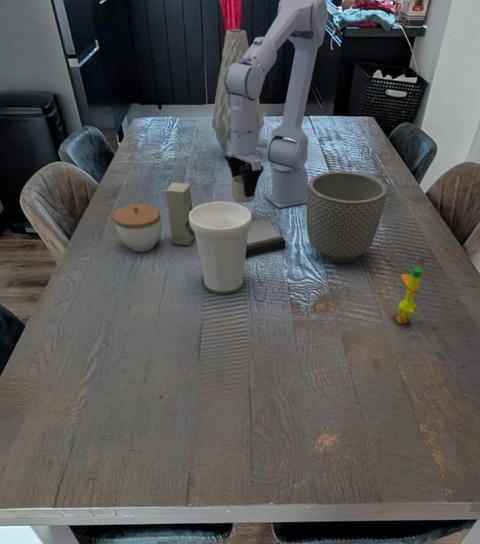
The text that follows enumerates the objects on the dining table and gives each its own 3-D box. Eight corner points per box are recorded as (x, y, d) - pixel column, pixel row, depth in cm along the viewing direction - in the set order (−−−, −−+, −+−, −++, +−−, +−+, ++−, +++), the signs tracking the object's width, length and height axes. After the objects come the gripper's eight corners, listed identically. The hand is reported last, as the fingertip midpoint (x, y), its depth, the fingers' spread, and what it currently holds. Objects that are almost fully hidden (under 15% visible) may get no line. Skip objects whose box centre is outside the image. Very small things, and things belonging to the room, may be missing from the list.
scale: (263, 227, 123) (263, 216, 121) (285, 248, 116) (286, 237, 114) (220, 236, 119) (219, 225, 117) (240, 258, 112) (240, 247, 110)
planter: (290, 244, 117) (294, 176, 105) (350, 232, 122) (361, 166, 110) (322, 279, 106) (331, 208, 95) (387, 265, 111) (403, 195, 100)
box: (189, 246, 115) (183, 192, 106) (171, 244, 116) (164, 190, 106) (195, 236, 119) (190, 183, 109) (178, 234, 119) (172, 181, 110)
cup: (230, 305, 98) (227, 235, 87) (183, 287, 103) (175, 218, 92) (262, 279, 106) (263, 211, 95) (217, 263, 110) (213, 196, 99)
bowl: (249, 192, 120) (249, 173, 117) (259, 201, 117) (259, 181, 114) (228, 196, 119) (228, 176, 115) (238, 205, 115) (238, 185, 112)
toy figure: (386, 311, 98) (399, 258, 90) (402, 309, 99) (416, 256, 90) (399, 331, 94) (415, 277, 85) (416, 328, 95) (433, 275, 86)
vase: (273, 154, 159) (277, 30, 136) (245, 169, 150) (244, 38, 126) (232, 144, 165) (229, 23, 141) (203, 158, 156) (194, 31, 132)
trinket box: (172, 239, 117) (167, 201, 111) (151, 259, 110) (144, 220, 104) (133, 231, 120) (126, 193, 113) (110, 251, 113) (101, 212, 106)
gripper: (214, 122, 110) (217, 182, 120) (240, 141, 101) (241, 205, 111) (242, 118, 112) (242, 178, 122) (270, 137, 103) (268, 200, 113)
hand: (244, 191), depth 117 cm, fingers closed on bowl, 6 cm apart
